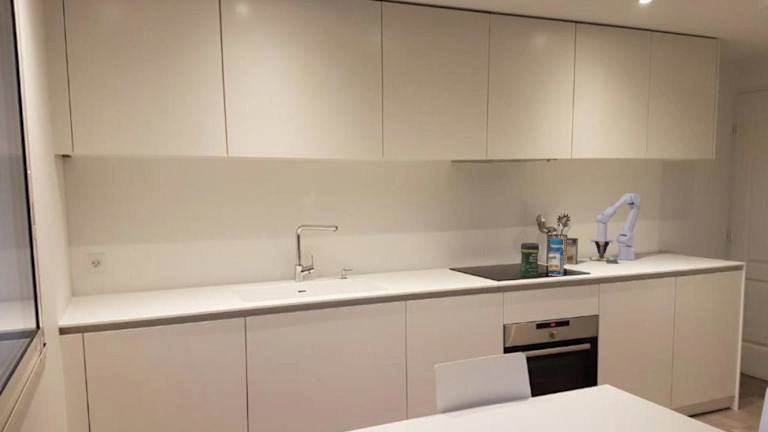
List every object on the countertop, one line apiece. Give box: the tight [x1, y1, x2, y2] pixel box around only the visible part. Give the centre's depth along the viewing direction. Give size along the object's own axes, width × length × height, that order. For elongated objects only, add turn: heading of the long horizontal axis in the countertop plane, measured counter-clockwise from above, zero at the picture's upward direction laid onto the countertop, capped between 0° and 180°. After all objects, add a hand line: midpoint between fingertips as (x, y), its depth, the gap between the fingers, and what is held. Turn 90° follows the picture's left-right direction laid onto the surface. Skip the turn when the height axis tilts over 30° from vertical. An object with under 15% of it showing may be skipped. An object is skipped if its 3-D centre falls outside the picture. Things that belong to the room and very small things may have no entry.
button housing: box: [605, 258, 619, 265], centre depth 331 cm, size 6×6×2 cm
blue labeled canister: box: [547, 238, 565, 277], centre depth 289 cm, size 8×8×20 cm
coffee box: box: [566, 237, 579, 265], centre depth 330 cm, size 9×6×16 cm
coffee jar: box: [519, 242, 540, 278], centre depth 286 cm, size 10×8×19 cm
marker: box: [598, 242, 605, 258], centre depth 343 cm, size 3×3×10 cm
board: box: [588, 256, 609, 262], centre depth 343 cm, size 12×10×1 cm
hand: (601, 253), depth 343 cm, fingers closed on marker, 3 cm apart
